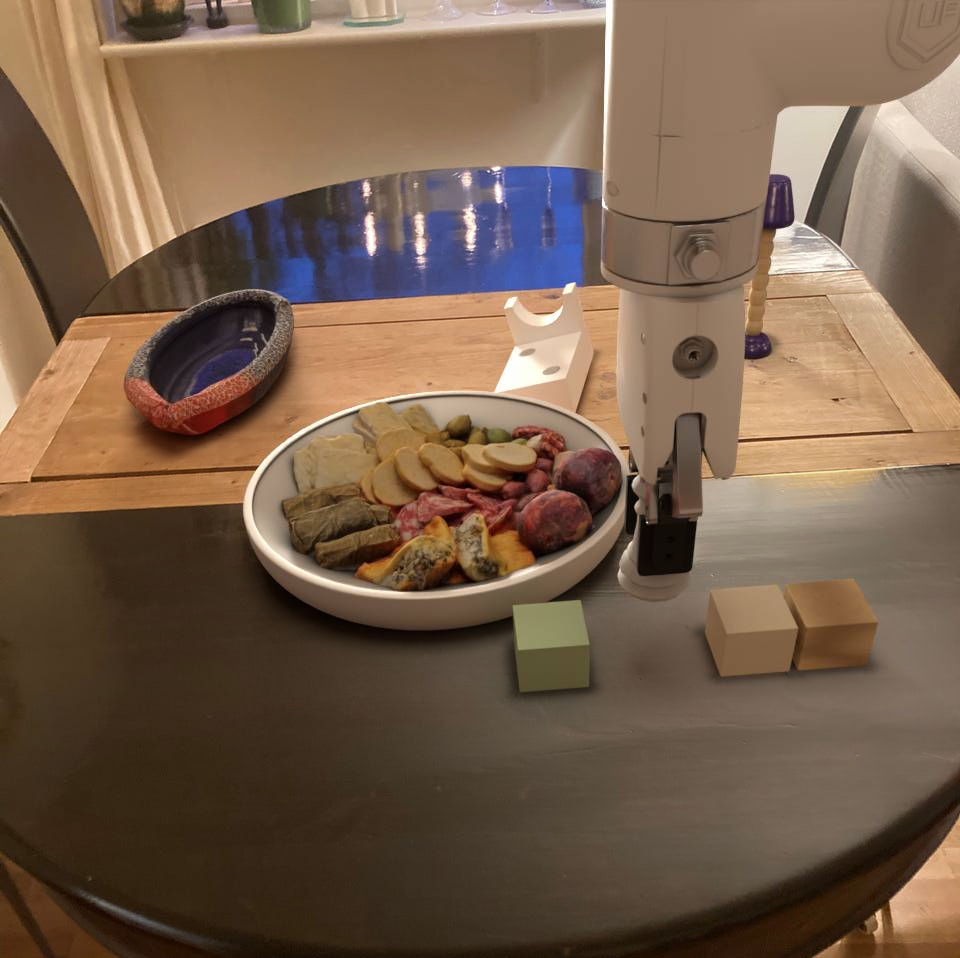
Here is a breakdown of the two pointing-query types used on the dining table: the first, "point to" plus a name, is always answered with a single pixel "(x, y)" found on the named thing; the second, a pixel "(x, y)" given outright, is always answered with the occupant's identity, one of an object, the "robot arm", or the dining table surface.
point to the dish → (211, 361)
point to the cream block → (750, 630)
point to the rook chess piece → (628, 576)
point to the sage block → (551, 646)
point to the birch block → (830, 624)
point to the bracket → (548, 352)
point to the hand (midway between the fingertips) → (657, 548)
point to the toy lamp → (767, 262)
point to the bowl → (437, 508)
